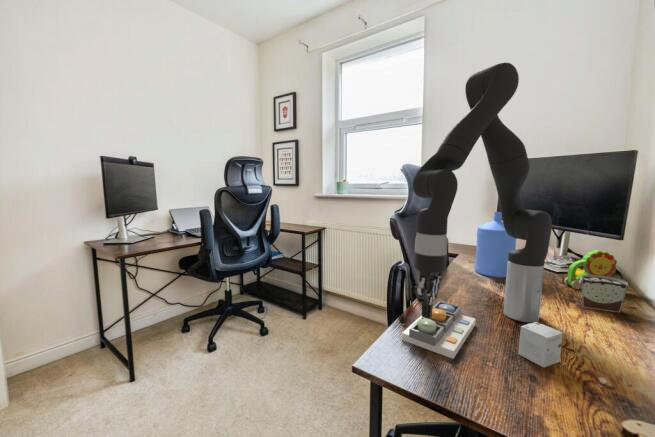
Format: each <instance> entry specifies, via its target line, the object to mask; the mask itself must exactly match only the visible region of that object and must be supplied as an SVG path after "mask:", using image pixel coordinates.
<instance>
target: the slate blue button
mask: <svg viewBox="0 0 655 437" xmlns="http://www.w3.org/2000/svg"><path fill="white" fill-rule="evenodd" d="M439 309H441V310H444V311H448V312H452V313H454V312H455V308H454V307H453V306H451V305H448V304H441V305H439Z"/></svg>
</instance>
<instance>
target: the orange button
mask: <svg viewBox="0 0 655 437" xmlns="http://www.w3.org/2000/svg"><path fill="white" fill-rule="evenodd" d="M429 319H431V320H434V321H438V322H441V323H443V322H445V321H446V312H445V311H443V310H441V309H432V317H430V318H429Z"/></svg>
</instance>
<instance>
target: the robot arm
mask: <svg viewBox="0 0 655 437" xmlns="http://www.w3.org/2000/svg"><path fill="white" fill-rule="evenodd" d="M519 82H520V76H519V72H518V70H517V68H516V67H515V66H514V64H512V63H510V62H500V63H498V64H494V65H492V66H489V67H487V68H485V69H482V70H479V71H477V72H475V73H473V74H471V75H470V76H469V77H468V78H467V79H466V82H465V87H464V91H465V98H466V102H467V105H468V107H469V109H470V110H469V111H468V112H467V114H466V115H464V116H463V117H462V118H461V119H460V120H458V121H457V123H455V125H453V127H452V128H451V129H450V130H449V131H448V133H447V134H446V136H445V137H444V139H443V140H442V142H441V143H440V145H439V147H438V149H437V150H436V152H435V153H434V154H433V155H431V157H430V158H429V159H427V161H425V163H424V164H423V165H422V166H421V167H420V168H419V169H418V171H416V174H414V177H413V180H412V190H413V192H414V194H415V195H416V196H417V197H419V198H422V199H431V201H430V204H429V206H428V207H425V208H421V209H419V211H418V213H417V219H416V235H415V239H414V255H413V256H414V258H413V268H414V269H416V271H417V270H418V272H419V276H418V278H417V279H418V281H417V282H418V286H417V285H416V286H414V288H413V291H414V294H415V297H416V300H417V301H418V303H419V304H421V315H422V317H424V318H427V319H429V318H430V317H432V308H433V306H434V303H435V299H437V298H438V294H439V289H440V288H441V287H440V286H441V283H442V280H443V279H442V277H441V276H439V274H441V273H444V272H445V271H446V269H447V256H448V255H447V253H448V252H447V250H448V237H447V236H448V235H447V234H448V222H449V221H448V218H449V215H450V212H451V210H452V206H453V203H454V202H455V201H454V200H455V198H456V197H457V196H456V195H457V192H458V186H459V185H458V178H457V176H456V174H455V173H454V172H453V171H456V170H459V169H461V168H462V167H463V166H464V164H465V162H466V160H467V158H468V157H469V155H470V154H471V152H472V150H473V148H474V147H475V145H476V143H477V142H478V140H479V139H480V138H481V140H482V143H483V146H484V149H485V153H486V156H487V161H488V164H489V168H490V169H489V170H490V171H491V174H492V177H493V181H494V185H495V188H496V192H497V196H498V201H499V204H500V205H499V206H500V212H502V218H501V220H502V222H503V224H504V228H505V230H506V232H507V234H508V235H509V236H511V237H513V238H517V239H516V240H523V241H525V245H524V247H523V248H519V249H515V250H512V251H510V252H509V254H508V263H507V275H506V278H505V290H504V301H503V302H504V303H503V314H504V315H505V316H506V317H508V318H510V319H513V320H515V321H519V322H524V323H534V322H538V323H539V320H540V317H541V316H540V315H541V314H540V313H541V305H542V293H543V282H544V272H545V271H544V270H545V260H546V258H547V257H548V256H547V255H548V253H549V247H550V240H551V236H552V229H553V228H552V227H553V222H552V217H551V215H550V214H549V213H548V212H547V211H544V210H534V209H525V208H524V207H523V204H522V201H521V190H522V187H523V186H524V183H525V182H526V180H527V178H528V175H529V172H530V161H529V158H528V153H527V150H526V145H525V144H524V143H523V140H521V139H520V138H519V137H518V136H517V135H516V134H515V133H514V132H513V131H512V130H511V129H510V128H508V127H507V126H506V124H504V123H503V122H502V121H501V119H500V117H499V113H500V112H502V110H503V108H505V106H506V105H507V104H508V103H509V102H510V100H511V99H512V98H513V97H514V95H515V94H516V92H517V90H518V87H519Z"/></svg>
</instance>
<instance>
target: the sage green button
mask: <svg viewBox="0 0 655 437" xmlns="http://www.w3.org/2000/svg"><path fill="white" fill-rule="evenodd" d="M418 331H421V332H424V333H427V334H430V335H432V334H435V333H436V323H435V322H434V321H432V320H429V319H420V320H419V321H418Z"/></svg>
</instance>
